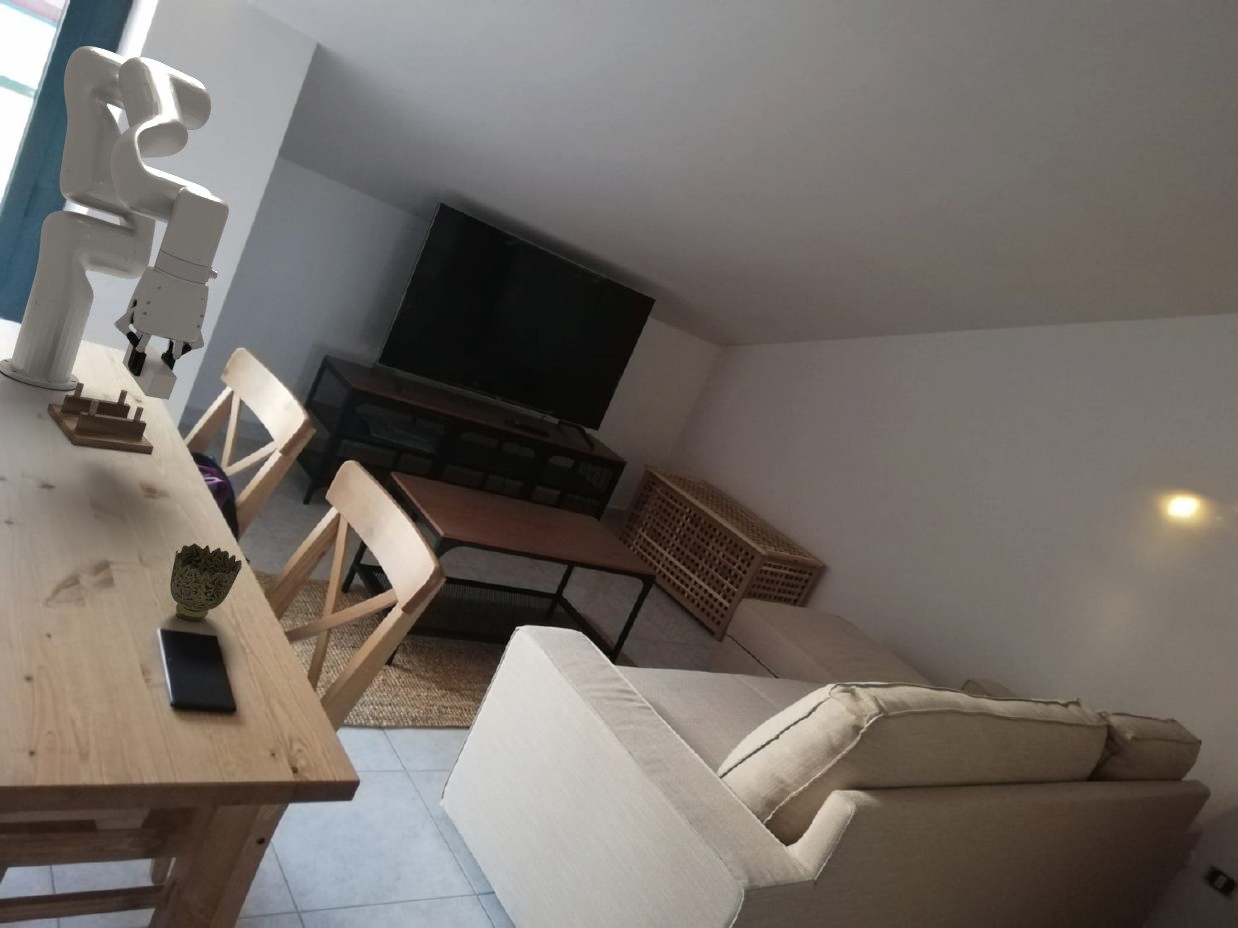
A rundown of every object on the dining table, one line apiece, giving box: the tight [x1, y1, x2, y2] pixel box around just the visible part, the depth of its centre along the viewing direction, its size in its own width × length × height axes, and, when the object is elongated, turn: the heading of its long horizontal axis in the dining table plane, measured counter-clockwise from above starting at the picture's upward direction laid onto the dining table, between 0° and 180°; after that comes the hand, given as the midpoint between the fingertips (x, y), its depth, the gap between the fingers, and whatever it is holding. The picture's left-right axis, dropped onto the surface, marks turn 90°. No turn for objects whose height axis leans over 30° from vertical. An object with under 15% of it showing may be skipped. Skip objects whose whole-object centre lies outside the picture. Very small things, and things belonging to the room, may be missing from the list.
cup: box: [169, 543, 243, 622], centre depth 104 cm, size 8×7×8 cm
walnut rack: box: [47, 381, 154, 454], centre depth 147 cm, size 15×12×7 cm
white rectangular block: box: [122, 342, 178, 401], centre depth 138 cm, size 12×4×4 cm, turn 49°
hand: (147, 374), depth 138 cm, fingers closed on white rectangular block, 3 cm apart
